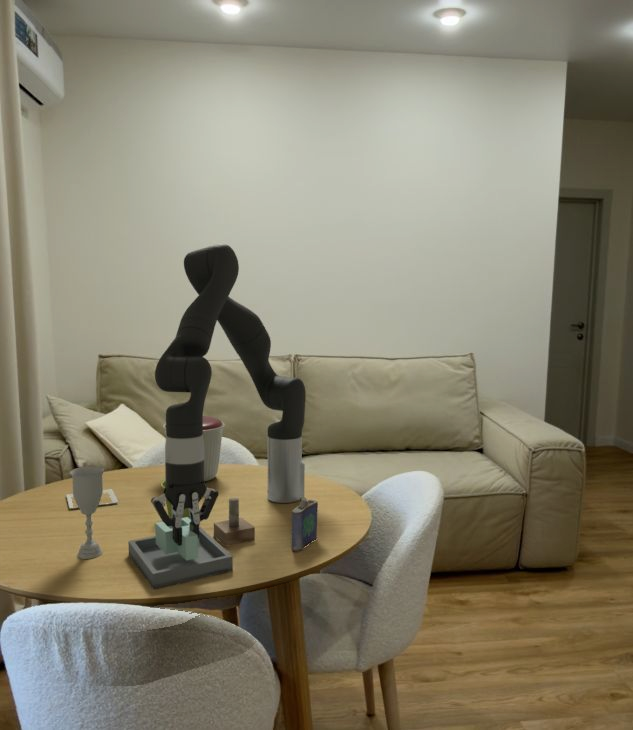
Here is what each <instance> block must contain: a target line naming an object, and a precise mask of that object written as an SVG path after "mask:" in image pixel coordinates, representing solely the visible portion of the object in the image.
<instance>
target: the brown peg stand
mask: <svg viewBox="0 0 633 730" xmlns="http://www.w3.org/2000/svg"><path fill="white" fill-rule="evenodd" d="M255 530H256V528H255V526H254V525H252V524H251V523H250V522H248V521H247V520H246V519H244V518H243V517H240V499H239V498H237V497H230V498H229V499H228V520H223V521H217V522H213V537H215V539H217V540H218V541H219V542H220V543H221V544H223V545H224V546H225V547H229V546H233V545H238V544H244V543H248V542H252V541H255V540H256V537H255V534H256V532H255Z"/></svg>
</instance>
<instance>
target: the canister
mask: <svg viewBox="0 0 633 730" xmlns="http://www.w3.org/2000/svg"><path fill="white" fill-rule="evenodd" d="M224 427H226V424H225V422H223V421H222V420H220V419H219V418H216V417H215V416H214V417H213V416H208V415H207V416H206V415H203V441H204V451H205V456H204V475H205V479H204V482H205V481H206V482H209V481H211V480H213V479H214V478H215V477H216V475H218V470H219V465H220V459H221V447H222V441H223V440H222V439H223V429H224ZM163 429H164V431H165V434H166V422H165V423H164V424H162V430H163Z"/></svg>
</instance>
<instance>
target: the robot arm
mask: <svg viewBox="0 0 633 730" xmlns="http://www.w3.org/2000/svg"><path fill="white" fill-rule="evenodd" d="M183 268H184V272H185V275H186V277H187V279H188V282H189V283H190V284H191V286H192V288H193V289H194V291H195V292H196V293H197V295H198V296H197V297H196V298H195V299H194V300H193V301H192V302H191V303H190V305H189V306H188V307H187V308H186V310H185V311H184V313H183V314H182V317H181V319H180V321H179V325H178V328H177V332H176V335H175V337H174V339H173V340H172V341H171V343H170V344H169V345H168V346H167V348H166V349H165V351H164V352H163V353H162V355H161V357H160V358H159V359H158V361H157V364H156V366H155V370H154V380H155V384H156V385H157V386H158V388H159V389H160V390H161V391H162V392H166V393H167V392H168V393H190V397H189V399H188V401H185V402H181V403H180V402H179V403H175V404H171V405H169V406H168V407H167V408H166V412H165V423H166V433H165V444H164V462H165V464H164V465H165V466H164V469H165V477H164V478H165V480H164V481H166V486H165V489H164V491H163V490H162V494H161V495H159V496H157V497H152V498H151V499H150V503H151V504H152V506H153V507H154V509H155V511H156V513H157V515H158V516H159V517H160V519H161V522H164V523H165V524H166V526H168V527H169V526H172V535H173V541H174V542H175V543H176V544H177V545H178V546H179V545H182V527H181V521H182V516H183V510H184V509H186V508H188V509H189V513H190V519H191V522H190V530H191V531H192V532H194V533H195V534H197V535H198V539H199V527H200V523H201V522H202V521H205V520H208V519H209V516H210V515H211V512H212V511H213V508H214V506H215V503H216V501H217V499H218V497H219V492H218V491H217V490H216V489H214V488H212V487H211V488H209V487H207V485H206V483H205V482H204V479H205V475H204V456H205V451H204V441H203V416H204V415H203V413H204V408H205V403H206V398H207V394H208V390H209V386H210V384H211V381H212V380H211V379H212V375H213V374H212V373H213V370H212V366H211V364H210V362H209V361H208V359H207V358H205V356H206V355H207V354H208V352H209V350H210V347H211V344H212V339H213V336H214V331H215V327H216V324H217V322H218V324H219V325H220V327H221V329H222V331H223V332H224V334H225V336H226V337H227V339H228V341H229V343H230V344H231V347H233V349H234V351H235V353H236V355H238V357H239V359H240V361H241V362H242V364H243V365H244V367H245V369H246V371H247V372H248V375H249V376H250V378H251V380H252V382H253V385H254V387H255V389H256V391H257V393H258V396H259V398H260V400H261V402H262V403H263V405H264V406H265V407H267V408H268V409H270V410H273V411H280V412H282V413H281V414H282V415H281V419H280V420H279V421H277V422H274V423H270V424H269V425H268V426H267V492H266V493H267V499H268V500H269V502H273V503H277V504H291V503H295V502H298V501H300V500H301V499H303V498H304V497H305V488H306V487H305V484H306V483H305V482H306V481H305V478H306V477H305V476H306V475H305V472H306V471H305V470H306V469H305V467H306V466H305V463H304V462H303V460H302V459H303V457H302V455H303V451H302V450H303V444H302V443H303V439H302V438H303V436H302V435H303V428H304V425H305V411H306V397H307V396H306V395H307V394H306V393H307V392H306V386H305V383H304V381H302V379H300V378H298V377H292V376H283V375H278V374H277V373H276V371H275V370H274V369H273V367H272V365H271V363H270V361H269V359H270V354H271V347H272V340H271V337H270V334H269V332H268V330H267V329H266V327H265V325H264V323H263V322H262V320H261V318H260V317H259V315H258V314H256V313H255V312H254V311H252V310H251V309H249V308H248V307H246V306H244V305H243V304H242V303H239V302H238V301H236V300H235V299H233V298H231V297H230V293H231V292H232V290H233V288H234V286H235V283H236V281H237V279H238V276H239V270H240V268H239V259H238V257H237V255H236V252H235V251H234V250H233V248H232V247H231V246H230V245H229V244H225V243H220V244H213V245H210V246H205V247H203V248H199V249H196V250H193V251H190V252H187V254H186V255H185V256H184V259H183ZM203 497H204V500H203V502H202V505H201V507H200V504H199V503H200V502H201V500H202V498H203ZM300 497H303V498H301V499H300ZM166 499H167V500H168V501H169V502H170V503H171V505H172V518H170V517H169V516H168V512H167V511H166V509H165V507H166V506H167V504H166ZM299 499H300V500H299Z"/></svg>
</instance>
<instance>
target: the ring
mask: <svg viewBox="0 0 633 730" xmlns="http://www.w3.org/2000/svg"><path fill="white" fill-rule="evenodd" d="M190 522H191V519H189V518H188V517H185V518H182V521H181V527H182V545H179V546H178V545H177V544H176V543H175V542H174V541H173V535H172V526H169V527H168V526H166V524H165V523H164V522H163V521H159V522H157V521H156V522H154V526H155V527H154V528H155V529H154V530H155V536H156V545H157V546H158V547H159V548H160V549H161V550H162V551H163V552H164V553H165V554H170V553H175V552H178V553H179V554H180V555H181V556H182V557H183V558H184V559H185V560H186V561H187V560H191V559H196V558H198V548H199V547H200V542H199V539H198V535H197V534H195V533H194V532H192V531H191V530H190Z"/></svg>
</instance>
